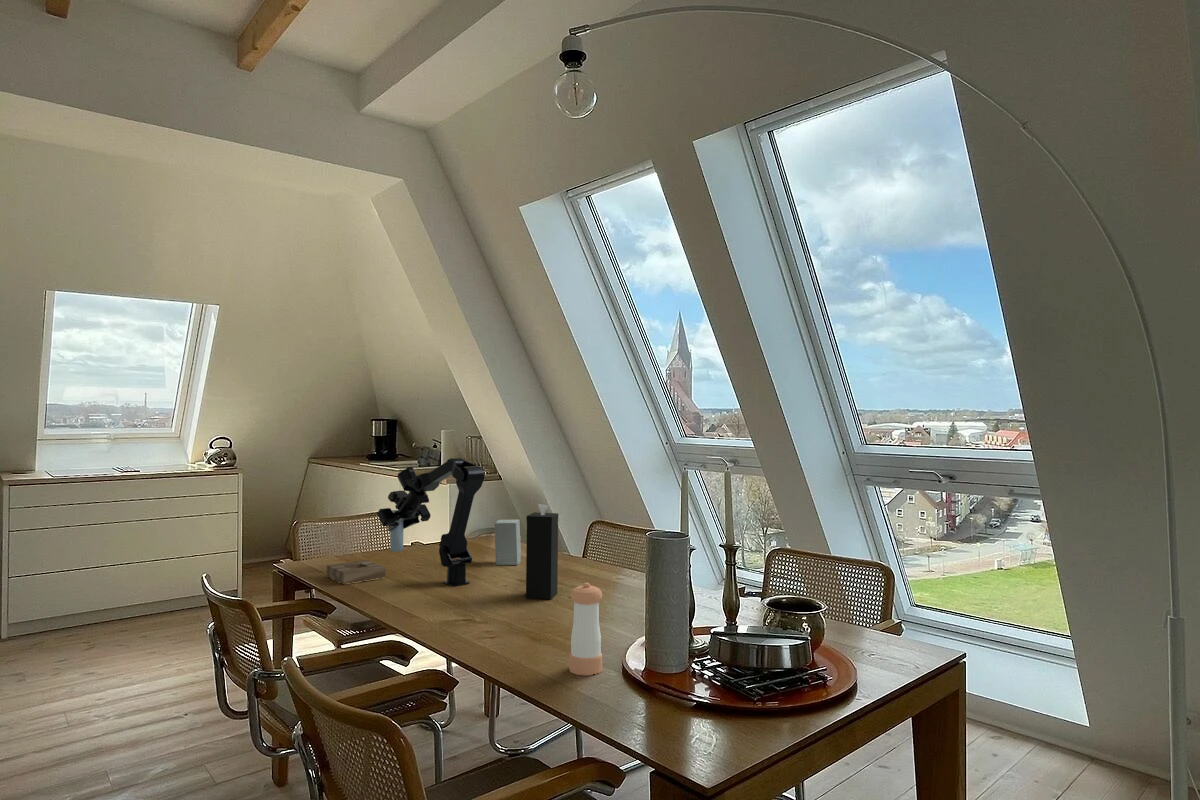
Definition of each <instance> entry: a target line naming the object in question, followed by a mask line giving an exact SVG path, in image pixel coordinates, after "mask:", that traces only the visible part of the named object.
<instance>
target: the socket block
mask: <svg viewBox="0 0 1200 800" xmlns="http://www.w3.org/2000/svg"><path fill="white" fill-rule="evenodd" d="M327 577H329V578H331V579H334V580H336V581H338V582H340V583H343V584H346V583H352V582H358V581H364V580H370V579H376V578H383V577H385V578H386V566H384V565H382V564H378V563H376V562H373V561H371V560H368V559H364V560H357V561H349V562H342V563H336V564H335V563H334V564H327V565H326V578H327ZM329 578H328V579H329ZM331 579H330V580H331ZM334 580H333V581H334ZM336 581H335V582H336ZM338 582H337V583H338ZM340 583H339V584H340Z"/></svg>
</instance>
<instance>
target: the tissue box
mask: <svg viewBox="0 0 1200 800" xmlns="http://www.w3.org/2000/svg"><path fill="white" fill-rule="evenodd" d="M537 504H538V509H539V512H533V513H530V514H527V515H526V549H525V550H526V551H525V552H526V558H525V560H526V563H525V564H526V566H525V568H526V570H525V598H528V599H539V600H552V599H553V598H554V597H556V595H557V594H558V571H559V569H558V565H559V564H558V563H559V561H558V560H559V559H558V557H559V556H558V554H559V553H558V552H559V513H558V512H556V513H555V512H546V511H547V509H548V507H549V505H547V504H543V503H542V504H541V503H537Z"/></svg>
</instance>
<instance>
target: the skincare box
mask: <svg viewBox="0 0 1200 800" xmlns="http://www.w3.org/2000/svg"><path fill="white" fill-rule="evenodd" d="M520 522H521V521H520V519H498V520H496V522H494V544H495V545H494V546H495V547H494V548H495V549H494V550H495V565H496V566H518V565H519V564H520V563H521V561H522V555H521V554H522V553H521V526H520V525H521V524H520Z"/></svg>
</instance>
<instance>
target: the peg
mask: <svg viewBox="0 0 1200 800" xmlns="http://www.w3.org/2000/svg"><path fill="white" fill-rule="evenodd" d="M391 510H392V509H391ZM395 511H398V509H393V510H392V512H393V513H395ZM398 524H399V526H397V527H396V528H395V529H393V530H392V531H390V540H389V541H390V542H389V544H390V548H389V550H390V552H393V553H394V552H395V553H396V552H397V553H398V552H403V551H404V529H403V519H399V521H398Z"/></svg>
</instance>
